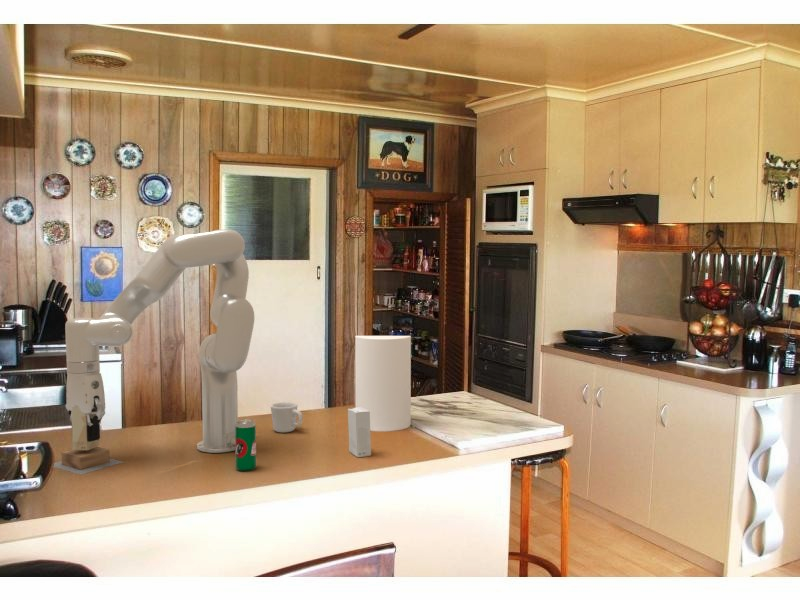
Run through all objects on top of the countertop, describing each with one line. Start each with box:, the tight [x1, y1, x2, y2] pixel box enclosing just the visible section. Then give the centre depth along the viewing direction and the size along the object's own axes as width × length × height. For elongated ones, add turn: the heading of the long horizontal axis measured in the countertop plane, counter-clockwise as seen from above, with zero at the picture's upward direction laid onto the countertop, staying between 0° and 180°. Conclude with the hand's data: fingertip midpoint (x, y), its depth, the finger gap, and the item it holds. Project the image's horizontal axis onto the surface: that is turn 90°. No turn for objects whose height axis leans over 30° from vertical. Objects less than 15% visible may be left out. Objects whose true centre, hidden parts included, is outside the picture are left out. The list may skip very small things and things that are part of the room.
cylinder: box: [354, 335, 412, 432], centre depth 220 cm, size 17×17×28 cm
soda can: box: [234, 419, 257, 472], centre depth 176 cm, size 5×5×12 cm
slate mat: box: [53, 458, 124, 475], centre depth 178 cm, size 14×12×1 cm
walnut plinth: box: [60, 446, 111, 470], centre depth 178 cm, size 8×8×3 cm
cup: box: [270, 401, 303, 434], centre depth 212 cm, size 11×8×8 cm
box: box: [71, 406, 100, 450], centre depth 177 cm, size 5×4×11 cm
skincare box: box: [347, 407, 372, 458], centre depth 189 cm, size 6×4×12 cm
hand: (86, 437), depth 178 cm, fingers closed on box, 5 cm apart
